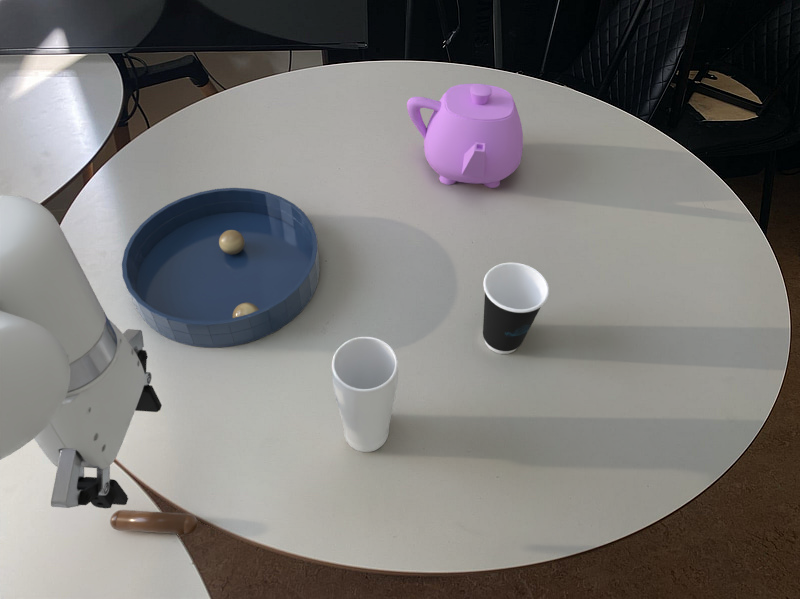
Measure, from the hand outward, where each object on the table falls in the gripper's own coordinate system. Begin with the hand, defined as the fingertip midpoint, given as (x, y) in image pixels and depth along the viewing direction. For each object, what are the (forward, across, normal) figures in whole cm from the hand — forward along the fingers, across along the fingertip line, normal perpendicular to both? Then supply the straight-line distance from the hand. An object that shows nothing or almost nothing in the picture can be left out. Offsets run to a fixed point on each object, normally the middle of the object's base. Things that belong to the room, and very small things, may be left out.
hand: (129, 452), depth 58 cm
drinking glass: (+10, -9, +22) cm, 26 cm away
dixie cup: (+10, -24, +39) cm, 47 cm away
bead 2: (+7, -23, +5) cm, 25 cm away
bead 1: (+7, -37, 0) cm, 37 cm away
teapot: (+9, -59, +34) cm, 69 cm away
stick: (+10, +3, +1) cm, 11 cm away
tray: (+10, -33, 0) cm, 34 cm away
